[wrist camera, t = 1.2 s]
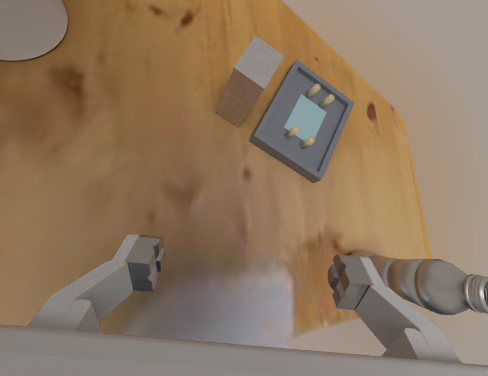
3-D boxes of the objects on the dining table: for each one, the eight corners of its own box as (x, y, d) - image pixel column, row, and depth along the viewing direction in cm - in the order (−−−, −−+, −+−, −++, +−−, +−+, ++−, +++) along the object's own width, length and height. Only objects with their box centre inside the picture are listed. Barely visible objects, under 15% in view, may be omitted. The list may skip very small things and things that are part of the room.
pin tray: (248, 140, 42) (258, 130, 38) (290, 67, 47) (302, 51, 43) (313, 182, 45) (328, 177, 40) (345, 108, 50) (362, 97, 46)
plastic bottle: (360, 244, 45) (497, 252, 27) (374, 279, 45) (523, 312, 26) (333, 258, 43) (463, 278, 24) (348, 295, 43) (491, 344, 24)
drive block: (215, 112, 41) (234, 67, 30) (232, 86, 43) (256, 34, 32) (237, 127, 42) (264, 88, 31) (253, 101, 44) (284, 55, 33)
